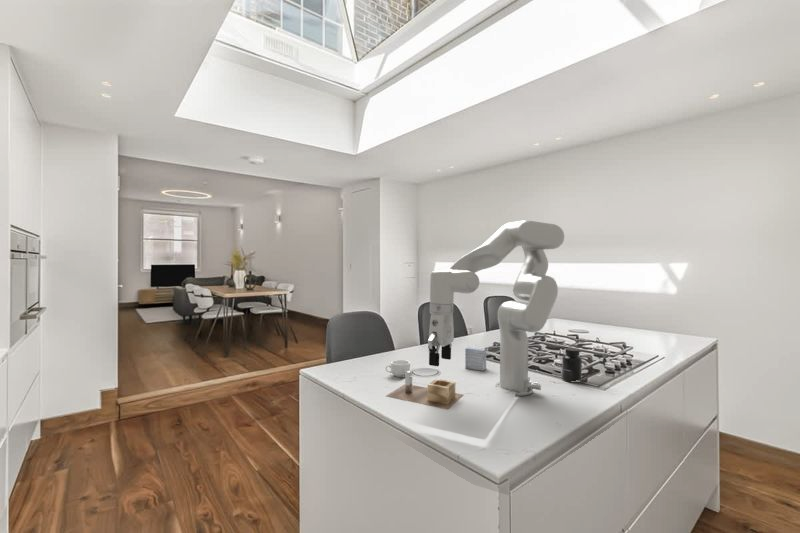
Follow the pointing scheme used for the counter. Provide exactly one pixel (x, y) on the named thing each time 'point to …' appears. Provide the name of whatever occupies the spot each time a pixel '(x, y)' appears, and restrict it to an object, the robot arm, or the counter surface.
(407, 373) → the steel rod
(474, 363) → the medicine box
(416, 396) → the walnut board
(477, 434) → the counter surface
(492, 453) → the counter surface
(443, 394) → the wooden storage bin
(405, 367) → the teacup
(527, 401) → the counter surface
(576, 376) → the supplement bottle
